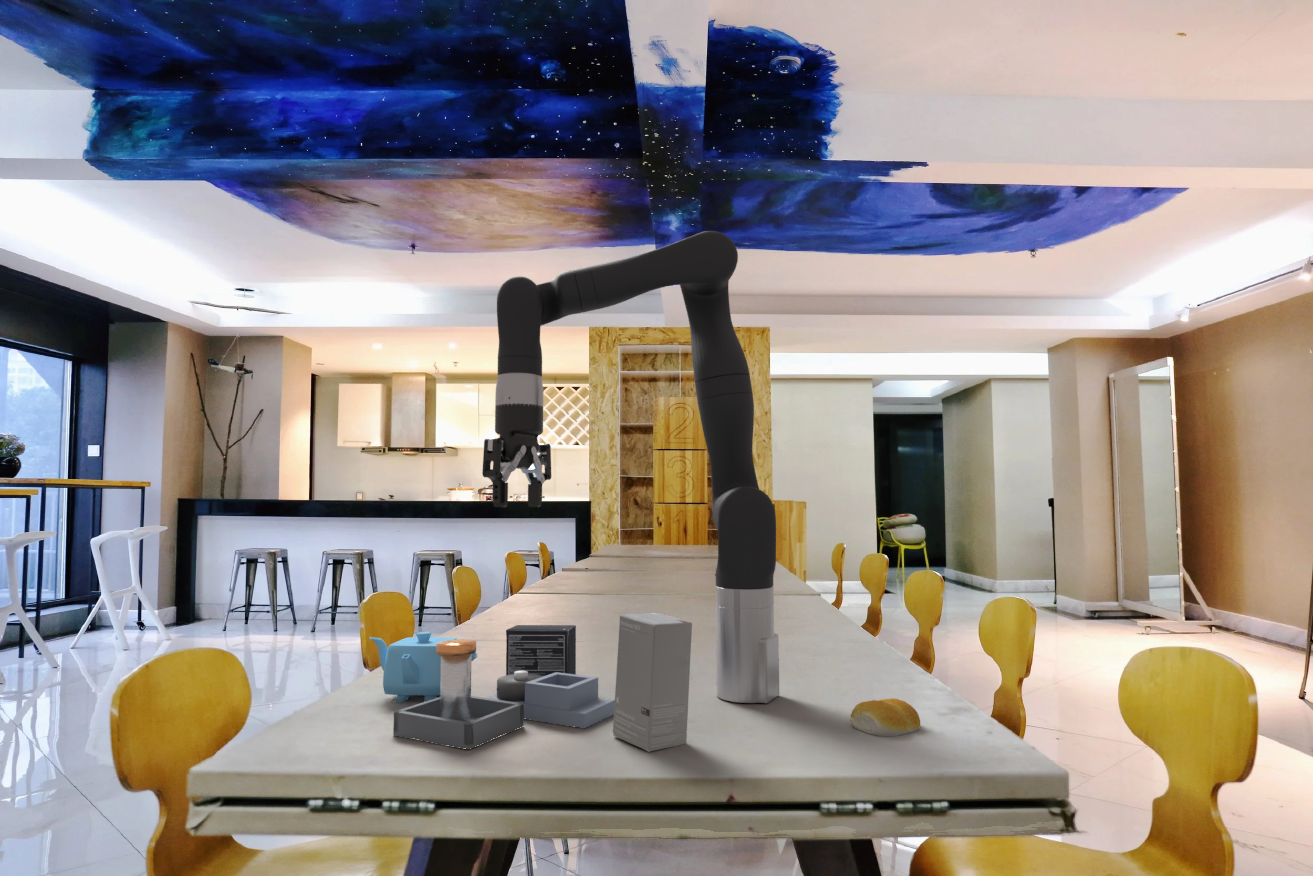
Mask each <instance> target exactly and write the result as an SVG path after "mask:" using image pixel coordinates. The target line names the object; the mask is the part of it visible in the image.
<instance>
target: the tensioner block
mask: <svg viewBox="0 0 1313 876" xmlns="http://www.w3.org/2000/svg"><path fill="white" fill-rule="evenodd" d="M483 698H489V699H496V700H502V701H509V702H516V703H522V704H524V718H526V719H531V720H530V721H532V720H535V721H534V722H538V721H541V722H540V723H545V722H548V723H547V724H551V723H554V724H553V725H557V724H561V725H560V726H563V725H568V726H567V727H569V726H575V727H580V728H579V729H582V728H585V729H587V728H586V727H588V726H590V727H591V725H592V726H593V724H594V725H596V724H598V723H599V721H600V722H601V721H604V720H606V719H608V718H610V717H612V716H614V706H615V699H609V698H601V697H599V677H598V676H589V675H581V674H576V675H575V674H567V673H559V672H555V673H552V674H549V675H546V676H541V675H538V674H528V671H515V672H514V674H512V675H506V674H505V675H504V676H499V677H498V678H497V680H496V693H492V694H491V695H487V696H485V697H483ZM605 718H606V719H605ZM526 719H525V720H526ZM603 719H604V720H603ZM597 722H598V723H597ZM595 723H596V724H595ZM575 727H574V728H575ZM588 728H589V727H588Z"/></svg>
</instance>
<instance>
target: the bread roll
mask: <svg viewBox="0 0 1313 876" xmlns="http://www.w3.org/2000/svg"><path fill="white" fill-rule="evenodd" d="M850 712H851V713H850V719H849V720H850V722H851V725H852V727H854V729H856V730H858V731H861V732H864V733H865V734H869V735H875V736H879V737H896V736H902V735H905V734H907V733H909V734H911V733H916V732H917V731H918V730H919V729H920V727H921V719H920V716H919V713H918V711H917V710H916V708H914V707H913V706H912V704H910V703H908V702H906V701H904V700H902V699H899V698H895V697H894V698H885V699H879V700H866V701H862V702H858V703H857V704H856V705H855V706H854V708H853V709H852V711H850Z"/></svg>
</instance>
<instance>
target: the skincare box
mask: <svg viewBox="0 0 1313 876" xmlns="http://www.w3.org/2000/svg"><path fill="white" fill-rule="evenodd" d="M692 629H693V622H691V621H689V620H685V619H682V618H678V617H677V616H673V615H666V614H662V613H658V612H648V613H647V612H645V613H624V614H620V615H619V627H618V643H617V658H616V659H617V660H616V672H615V673H616V676H615V688H614V689H615V692H614V693H615V694H614V700H615V706H614V715H613V723H612V724H613V726H612V734H613V736H614V737H615V738H616V739H620V740H622V741H624V742H627V743H629V744H631V745H633V746H636V747H639V748H640V749H643V750H645V751H647V752H650V753H651V752H654V751H658V750H662V749H667V748H672V747H673V748H674V747H677V746H681V745H685V744H687V741H688V740H687V736H688V732H687V731H688V719H689V718H688V714H689V693H690V691H689V690H690V673H691V672H690V669H691V652H692V649H691V647H692V635H693V634H692V633H693V631H692Z"/></svg>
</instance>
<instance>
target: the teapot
mask: <svg viewBox="0 0 1313 876" xmlns="http://www.w3.org/2000/svg"><path fill="white" fill-rule="evenodd" d="M368 639H370V640H371V641H372V642H374V644H375V645H376V646H377V650H378V657H379V665H380V667H381V669H382V670H383V678H382V688H383V692H384V695H392V696H394V695H396V696H395V698H394V699H393V702H395V703H405V702H408V700H409V697H410V696H424V697H423V699H424V701H423V702H426V701H429V700H432V699H435V698H438V696H440V680H441V655H437V654H436V644H437V643H439V642H443V641H449V640H458V638H457V637H432V632H430V631H420V632H417V633H416V636H413V637H411V636H409V637H408V636H407V637H405V638H403V639H399V640H397V641H395V642H392V643H390V644H389V645H388V646H387V644H386V642H385V641H384V640H383V638H381V637H380V638H379V637H373V636H369V637H368ZM477 658H478V654H477V651H476V652H475V653H472V655H471V663H472V662H473V661H474V660H475V659H477Z"/></svg>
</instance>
